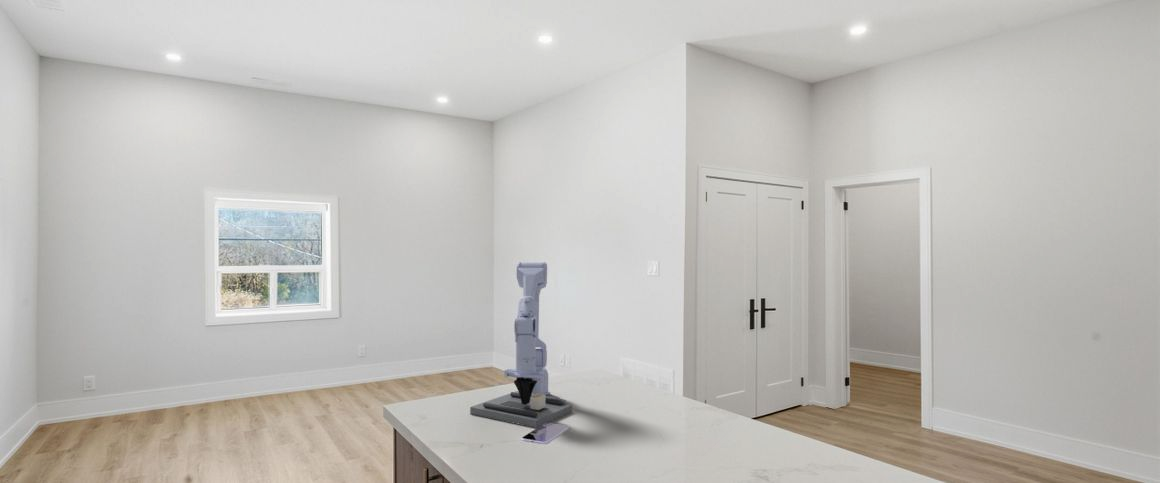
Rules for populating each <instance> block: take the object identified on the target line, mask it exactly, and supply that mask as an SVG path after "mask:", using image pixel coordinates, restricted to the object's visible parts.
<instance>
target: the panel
mask: <svg viewBox="0 0 1160 483" xmlns="http://www.w3.org/2000/svg"><path fill="white" fill-rule="evenodd" d="M484 403H491V404H496V405H501V406H506V407H512V408H517V409H522V410H527V411H532V412H536V413H537V414H538V415H537V417H530V416H525V415H520V414H515V413H510V412H505V411H501V410H496V409H491V408H486V407H484V406H483V404H484ZM469 409H470V411H469V412H470V413H469V414H470V415H473V416H478V417H479V416H480V417H483V418H488V419H493V420H497V421H502V420H503V421H502V422H506V421H509V422H508V423H511V422H514V423H513V424H516V423H519V424H518V425H520V424H523V425H522V426H525V425H526V426H525V427H530V428H534V429H536V428H538V427H539V426H541V425H543V424H544V423H551V422H552V421H555V420H557V419H559V418H561V417H563V416H566V415H568V414H571V413H572V412H573V405H572V404H568V403H566V404H561V405H556V404H550V403H545V407H544V408H542V409H540V410H535V409H530V402H529V403H528V404H526V405H525V404H522V402H521V398H517V397H512V396H511V395H510V393H507V394H504V395H502V396H499V397H496V398H492V399H491V400H487V401H483V402H481V403H479V404H475V405H472V406H470V408H469Z"/></svg>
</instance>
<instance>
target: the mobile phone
mask: <svg viewBox="0 0 1160 483" xmlns="http://www.w3.org/2000/svg"><path fill="white" fill-rule="evenodd" d="M569 428H570V427H569V425H567V424H560V423H553V422H548V423H544V424H543V425H541V426H539V427H537V428H534V429H533V430H531V431H530V432H528V433H526V434H525V435H524V436H522V437H521V439H520V440H521V441H523V442H528V443H534V444H541V445H547V444H549V443H550V442H552V441H553V440H554V439H556V438H557V437H559V436H560V435H561V434H563V433H564V432H566V431H567V430H568V429H569Z"/></svg>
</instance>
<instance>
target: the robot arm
mask: <svg viewBox="0 0 1160 483" xmlns="http://www.w3.org/2000/svg"><path fill="white" fill-rule="evenodd" d="M516 279H517V282H518V283H517V284H518V286H519V288H521V289H523V290H522V292H523V294H522V298H520V299H519V301H518V306H517V308H518V309H517V316H516V318H515V319H514V324H513V325H514V326H513V328H514V329H513V330H514V331H513V332H514V340H515V341H514V342H515V344H516V345H515V349H516V350H515V368H513V369H512V368H507V369H504V377H506V378H508V377H511V378H516V379H514V380H513V384H514V385H515V387H516V389H517V391H518V392H519V394H520V398H521V402H522V404H525V405H526V404H528V403H529V402H530V397H531V394H536V395H537V394H543V395H545V396H548V395H550V394H551V391H549V372H548V369H546V367H547V364H548V363H547V362H548V361H547V360H548V356H547V355H548V353H547V352H548V350H547V345H546V343H545V342H544V341H543V340H542V339H540V338H539V335H540V334H539V327H540V326H539V324H540V323H539V322H540V321H539V320H540V294H541V290H542V289H545V288H546V287H547V284H548V264H547V262H546V261H544V262H521V261H519V262H517V264H516Z"/></svg>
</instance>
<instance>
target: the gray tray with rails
mask: <svg viewBox="0 0 1160 483" xmlns="http://www.w3.org/2000/svg"><path fill="white" fill-rule="evenodd" d="M509 394H510V395H511V396H512V397H517V398H520V394H519V392H518V390H517V391H511V392H510V393H509ZM534 395H536V394H531V396H534ZM483 403H484V402H483ZM545 403H550V404H556V405H561V404H567V400H566V399H563V398H559V397H553V396H548V395H545ZM483 406H484V407H486V408H491V409H496V410H501V411H505V412H510V413H515V414H520V415H525V416H530V417H537V415H538V414H537V413H536V412H532V411H527V410H522V409H517V408H512V407H506V406H501V405H496V404H491V403H484V404H483Z"/></svg>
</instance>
